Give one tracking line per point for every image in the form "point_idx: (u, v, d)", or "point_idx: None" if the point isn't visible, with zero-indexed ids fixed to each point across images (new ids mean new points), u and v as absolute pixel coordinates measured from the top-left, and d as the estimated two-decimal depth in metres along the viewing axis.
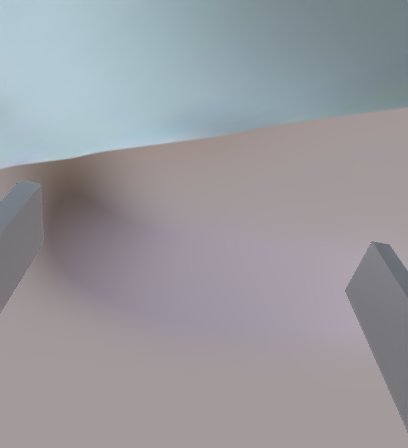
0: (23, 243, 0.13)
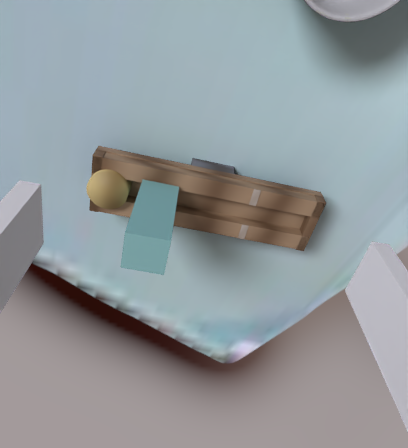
0: (23, 243, 0.13)
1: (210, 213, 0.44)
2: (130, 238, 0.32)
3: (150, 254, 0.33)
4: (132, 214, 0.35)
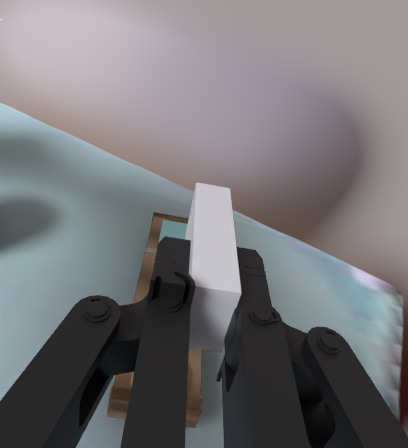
0: None
1: None
2: None
3: (185, 234, 0.29)
4: None
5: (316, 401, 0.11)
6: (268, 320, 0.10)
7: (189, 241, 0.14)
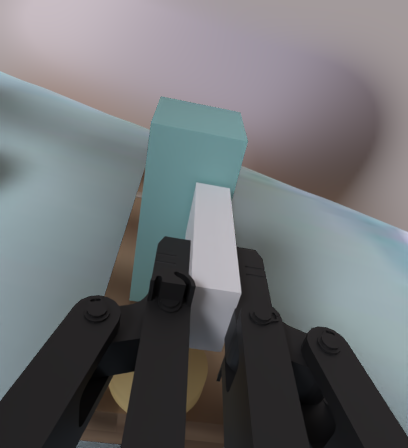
0: None
1: None
2: (166, 120, 0.16)
3: (199, 113, 0.17)
4: None
5: (316, 401, 0.11)
6: (268, 320, 0.10)
7: (189, 241, 0.14)
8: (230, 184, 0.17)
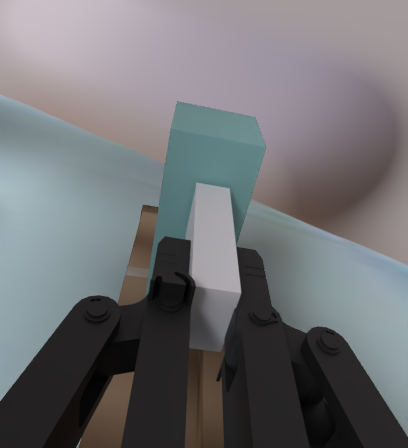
0: None
1: (199, 349, 0.20)
2: (185, 126, 0.16)
3: (215, 118, 0.17)
4: (161, 190, 0.17)
5: (316, 401, 0.11)
6: (268, 320, 0.10)
7: (189, 241, 0.14)
8: (247, 189, 0.17)
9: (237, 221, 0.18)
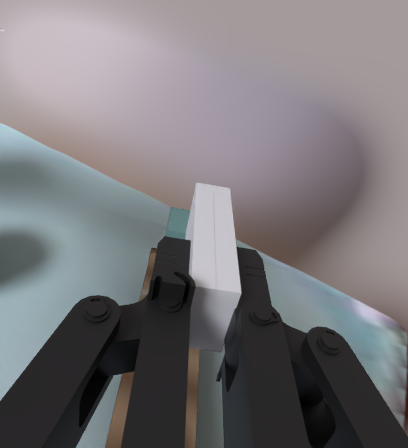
0: None
1: None
2: (173, 227, 0.35)
3: (188, 218, 0.37)
4: None
5: (316, 401, 0.11)
6: (268, 320, 0.10)
7: (189, 241, 0.14)
8: None
9: None
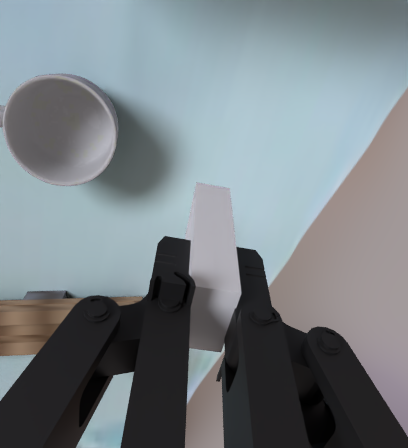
0: None
1: (50, 336, 0.50)
2: None
3: None
4: None
5: (316, 401, 0.11)
6: (268, 320, 0.10)
7: (189, 241, 0.14)
8: None
9: None
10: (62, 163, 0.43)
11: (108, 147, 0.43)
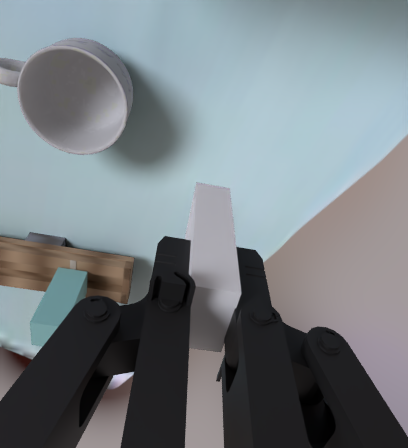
0: None
1: (45, 276, 0.55)
2: (35, 326, 0.44)
3: None
4: (40, 304, 0.46)
5: (316, 401, 0.11)
6: (268, 320, 0.10)
7: (189, 241, 0.14)
8: None
9: None
10: (74, 125, 0.44)
11: (120, 118, 0.43)
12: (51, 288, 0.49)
